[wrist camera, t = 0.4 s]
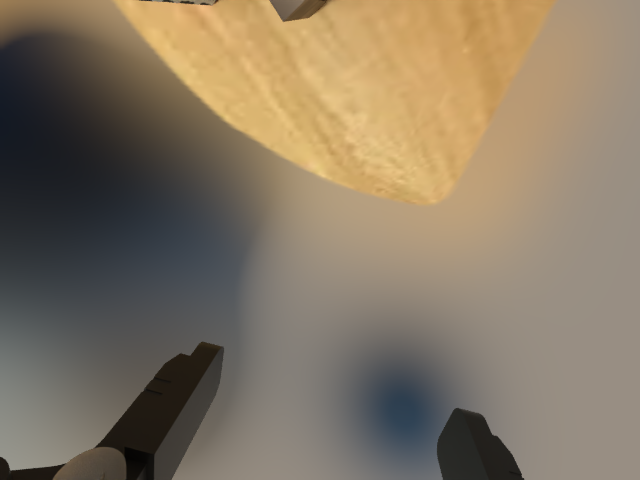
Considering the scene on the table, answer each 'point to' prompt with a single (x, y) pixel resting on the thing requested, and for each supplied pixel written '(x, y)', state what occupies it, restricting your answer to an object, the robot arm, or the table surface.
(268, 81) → the table surface
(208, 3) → the candy bar box
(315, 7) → the domino
